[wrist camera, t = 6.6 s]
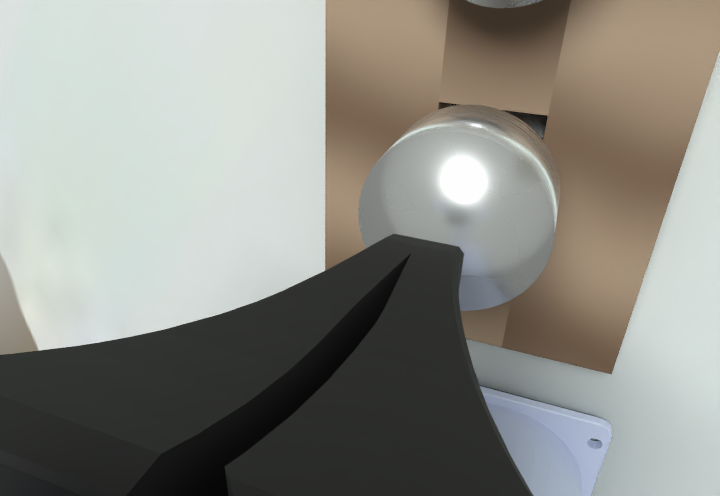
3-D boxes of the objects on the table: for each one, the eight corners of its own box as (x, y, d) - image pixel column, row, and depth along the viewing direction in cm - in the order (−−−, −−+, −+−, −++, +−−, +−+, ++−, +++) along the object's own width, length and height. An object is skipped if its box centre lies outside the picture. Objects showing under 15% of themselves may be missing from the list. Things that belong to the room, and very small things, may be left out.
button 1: (546, 246, 16) (533, 329, 13) (402, 219, 18) (355, 288, 14) (581, 95, 14) (575, 147, 11) (413, 76, 16) (361, 117, 12)
